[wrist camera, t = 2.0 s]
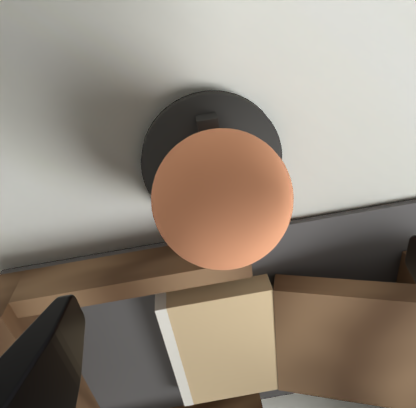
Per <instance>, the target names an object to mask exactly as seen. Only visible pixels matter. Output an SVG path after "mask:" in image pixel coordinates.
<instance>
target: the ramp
mask: <svg viewBox="0 0 416 408" xmlns="http://www.w3.org/2000/svg"><path fill="white" fill-rule="evenodd" d="M405 256H406V251H402V256H401V261H400V266H399V271H398V276H397V281H396V283H393V282H379V281H365V280H352V279H338V278H324V277H310V276H296V275H282V274H275V280H274V288H273V298H274V317H275V336H276V355H277V374H278V390H281V391H287V392H293V393H299V394H306V395H312V396H318V397H324V398H330V399H337V400H343V401H349V402H355V403H362V404H368V405H374V406H380V407H387V408H416V283H415V281H414V279H413V278H412V276H411V274H410V272H409V270H408V269H407V266H406V263H405Z"/></svg>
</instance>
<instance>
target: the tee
mask: <svg viewBox="0 0 416 408" xmlns="http://www.w3.org/2000/svg"><path fill="white" fill-rule="evenodd" d="M216 128H230V129H236V130H241V131H244V132H247V133H250V134H252V135H254V136H256V137H258V138H259V139H261V140H262V141H264V142H265V143H267V144H268V145H269V146H270V147H271V148H272V149H273V150H274V151H275V152H276V153H277V154H278V156H279V157H280V158H281V160H282V149H281V143H280V139H279V136H278V134H277V131H276V129H275V127H274V126H273V124H272V122H271V121H270V120H269V119H268V117H267V116H266V115H265V114H264V112H263V111H262V110H261V109H260V108H259V107H257V106H256V105H255V104H254V103H252V102H251V101H249V100H248V99H246V98H244V97H241V96H239V95H236V94H233V93H229V92H224V91H203V92H198V93H193V94H190V95H188V96H185V97H182V98H180V99H179V100H177V101H175V102H173V103H172V104H171V105H169V106H168V107H166V108H165V109H164V110H163V111H162V112H161V113H160V114H159V115H158V116H157V118H156V119H155V120H154V121H153V123H152V125H151V126H150V128H149V130H148V132H147V135H146V137H145V140H144V144H143V150H142V158H141V168H142V175H143V179H144V182H145V185H146V187H147V189H148V191H149V193H150V194H151V193H152V186H153V182H154V178H155V175H156V172H157V170H158V168H159V166H160V164H161V163H162V161H163V159H164V158H165V156H166V155H167V154H168V153H169V152H170V150H171V149H172V148H174V147H175V146H176V145H177V144H178V143H180V142H181V141H182V140H184V139H185V138H187V137H189V136H191V135H193V134H195V133H198V132H201V131H204V130H208V129H216Z"/></svg>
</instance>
